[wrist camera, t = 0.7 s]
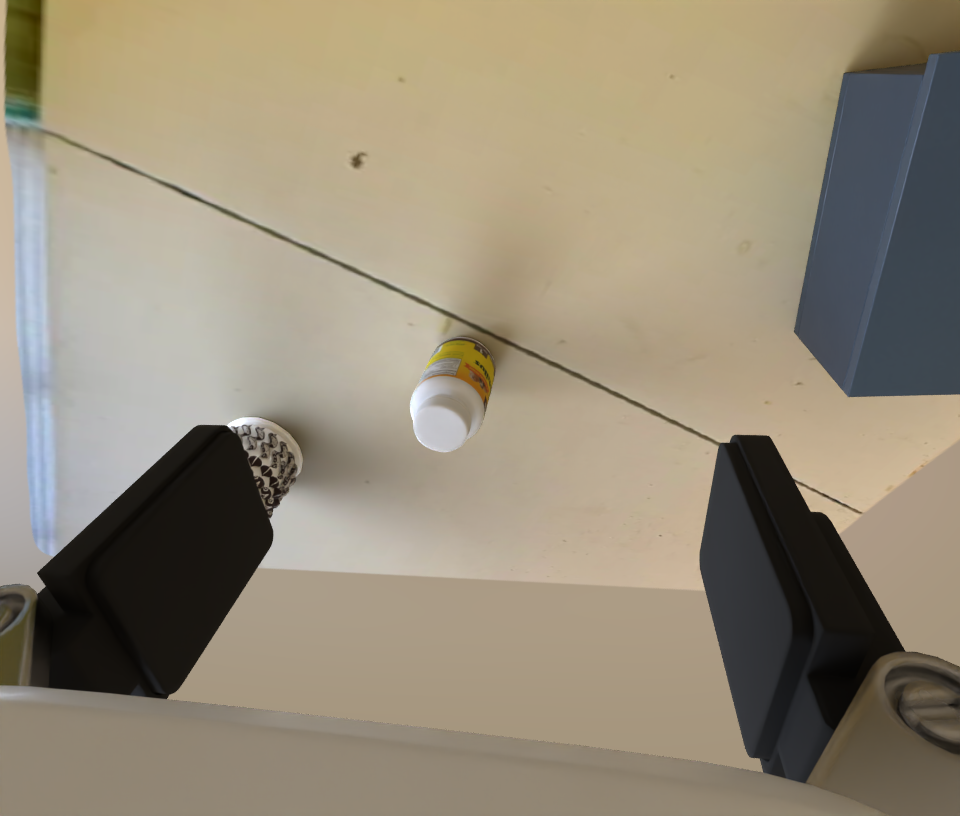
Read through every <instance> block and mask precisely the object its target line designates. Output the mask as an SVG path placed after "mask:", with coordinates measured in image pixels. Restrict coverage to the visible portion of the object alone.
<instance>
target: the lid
mask: <svg viewBox="0 0 960 816" xmlns="http://www.w3.org/2000/svg"><path fill="white" fill-rule="evenodd" d="M843 391H844V393H845V394H846V395H847V396H848V397H867V396H909V395H951V394H960V50H959V51H951V52H943V53H935V54H930V55H929V58H928V62H927V66H926V70H925V74H924V77H923V81H922V85H921V89H920V93H919V97H918V101H917V105H916V109H915V112H914V116H913V120H912V124H911V128H910V132H909V136H908V140H907V144H906V147H905V151H904V155H903V159H902V163H901V167H900V171H899V175H898V179H897V182H896V186H895V190H894V194H893V198H892V202H891V206H890V210H889V214H888V217H887V221H886V225H885V229H884V233H883V237H882V241H881V245H880V249H879V252H878V256H877V260H876V264H875V268H874V272H873V276H872V280H871V284H870V287H869V291H868V295H867V299H866V303H865V307H864V311H863V315H862V319H861V322H860V326H859V330H858V334H857V338H856V342H855V346H854V350H853V354H852V357H851V361H850V365H849V369H848V373H847V377H846V381H845V385H844V389H843Z"/></svg>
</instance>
